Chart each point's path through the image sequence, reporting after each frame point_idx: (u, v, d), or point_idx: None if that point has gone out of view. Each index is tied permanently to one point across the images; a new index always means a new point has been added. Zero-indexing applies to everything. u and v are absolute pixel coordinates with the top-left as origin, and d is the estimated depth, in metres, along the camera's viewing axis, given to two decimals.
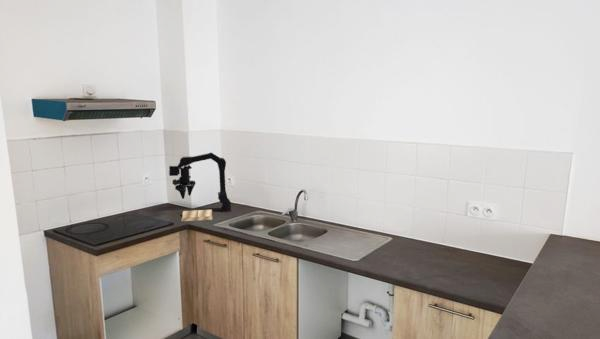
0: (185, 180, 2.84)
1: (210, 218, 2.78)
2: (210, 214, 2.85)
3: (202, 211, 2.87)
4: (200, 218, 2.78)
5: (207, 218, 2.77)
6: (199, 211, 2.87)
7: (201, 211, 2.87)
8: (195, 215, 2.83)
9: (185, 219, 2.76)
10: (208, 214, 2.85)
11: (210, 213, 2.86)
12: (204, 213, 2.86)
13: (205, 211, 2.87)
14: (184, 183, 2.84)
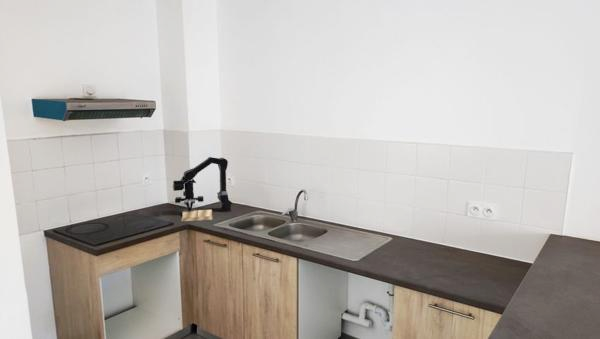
0: (185, 194, 2.82)
1: (210, 218, 2.78)
2: (210, 214, 2.85)
3: (202, 211, 2.87)
4: (200, 218, 2.78)
5: (207, 218, 2.77)
6: (199, 211, 2.87)
7: (201, 211, 2.87)
8: (195, 215, 2.83)
9: (185, 219, 2.76)
10: (208, 214, 2.85)
11: (210, 213, 2.86)
12: (204, 213, 2.86)
13: (205, 211, 2.87)
14: (185, 197, 2.83)
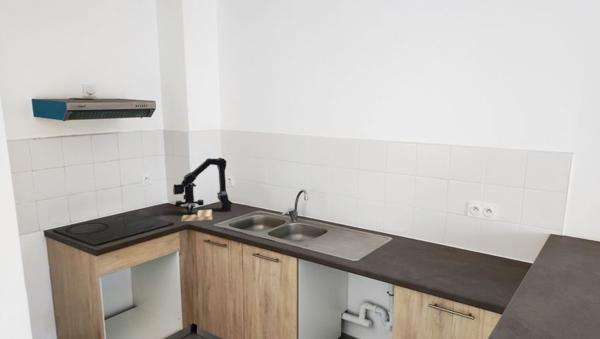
0: (185, 198, 2.83)
1: (210, 218, 2.78)
2: (210, 214, 2.85)
3: (202, 211, 2.87)
4: (200, 218, 2.78)
5: (207, 218, 2.77)
6: (199, 211, 2.87)
7: (201, 211, 2.87)
8: (195, 216, 2.83)
9: (185, 219, 2.76)
10: (208, 214, 2.85)
11: (210, 213, 2.86)
12: (204, 213, 2.86)
13: (205, 211, 2.87)
14: (185, 201, 2.84)
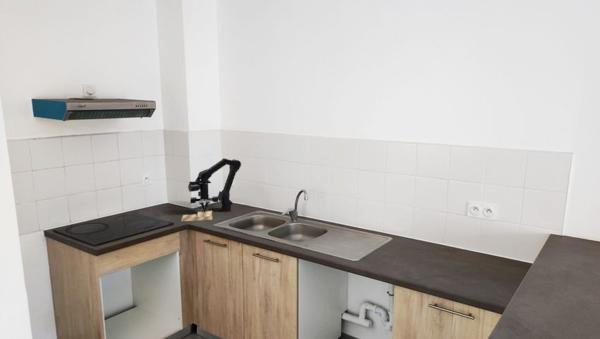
0: (200, 195, 2.84)
1: (210, 218, 2.78)
2: (210, 214, 2.85)
3: (202, 212, 2.88)
4: (200, 218, 2.78)
5: (207, 218, 2.77)
6: (199, 212, 2.87)
7: (201, 212, 2.87)
8: (195, 216, 2.83)
9: (185, 219, 2.76)
10: (208, 214, 2.85)
11: (210, 213, 2.86)
12: (204, 213, 2.86)
13: (205, 212, 2.88)
14: (200, 197, 2.85)
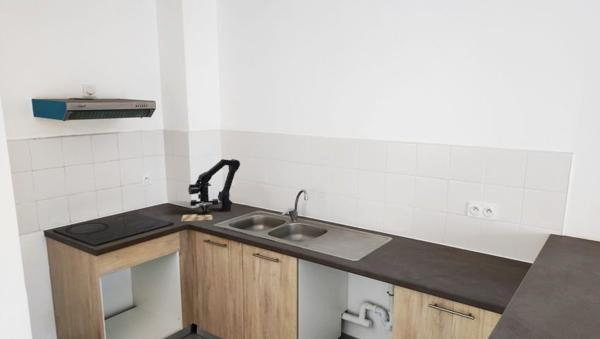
0: (200, 197, 2.85)
1: (210, 218, 2.78)
2: (210, 215, 2.86)
3: None
4: (200, 218, 2.78)
5: (207, 218, 2.77)
6: None
7: None
8: (195, 216, 2.83)
9: (185, 219, 2.76)
10: (208, 215, 2.85)
11: (210, 215, 2.87)
12: (204, 215, 2.86)
13: None
14: (200, 200, 2.86)
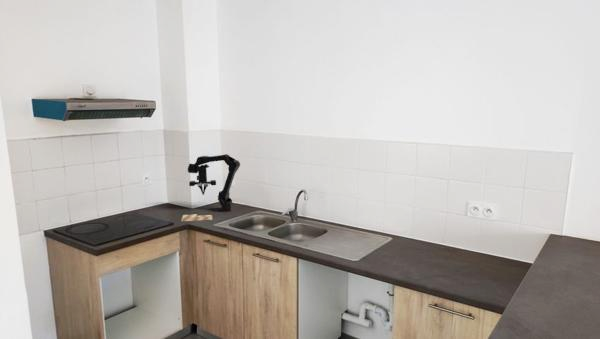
0: (199, 178, 2.96)
1: (210, 218, 2.78)
2: (210, 215, 2.86)
3: None
4: (200, 218, 2.78)
5: (207, 218, 2.77)
6: None
7: None
8: (195, 216, 2.83)
9: (185, 219, 2.76)
10: (208, 215, 2.85)
11: (210, 215, 2.87)
12: (204, 215, 2.86)
13: None
14: None
